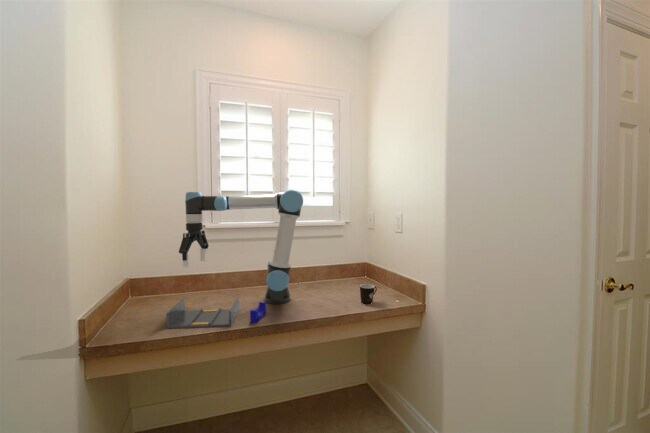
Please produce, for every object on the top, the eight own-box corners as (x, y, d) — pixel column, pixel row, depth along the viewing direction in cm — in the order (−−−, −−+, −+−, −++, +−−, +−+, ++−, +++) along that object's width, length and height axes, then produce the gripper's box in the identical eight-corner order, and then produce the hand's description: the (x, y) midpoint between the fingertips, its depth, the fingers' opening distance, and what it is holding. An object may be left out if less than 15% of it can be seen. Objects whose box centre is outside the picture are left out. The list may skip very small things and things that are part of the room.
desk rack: (238, 310, 143) (239, 297, 143) (231, 326, 126) (231, 311, 125) (182, 312, 140) (182, 298, 140) (166, 328, 122) (166, 313, 122)
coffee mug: (362, 306, 153) (362, 288, 153) (357, 300, 162) (357, 284, 161) (381, 305, 156) (382, 287, 155) (375, 299, 164) (376, 283, 164)
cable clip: (257, 312, 142) (257, 301, 142) (265, 313, 141) (265, 302, 141) (247, 322, 130) (247, 310, 130) (256, 323, 129) (256, 311, 129)
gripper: (202, 220, 152) (203, 258, 153) (169, 224, 128) (170, 269, 129) (215, 220, 151) (215, 259, 152) (183, 224, 126) (184, 270, 127)
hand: (195, 263), depth 140 cm, fingers open, 13 cm apart
